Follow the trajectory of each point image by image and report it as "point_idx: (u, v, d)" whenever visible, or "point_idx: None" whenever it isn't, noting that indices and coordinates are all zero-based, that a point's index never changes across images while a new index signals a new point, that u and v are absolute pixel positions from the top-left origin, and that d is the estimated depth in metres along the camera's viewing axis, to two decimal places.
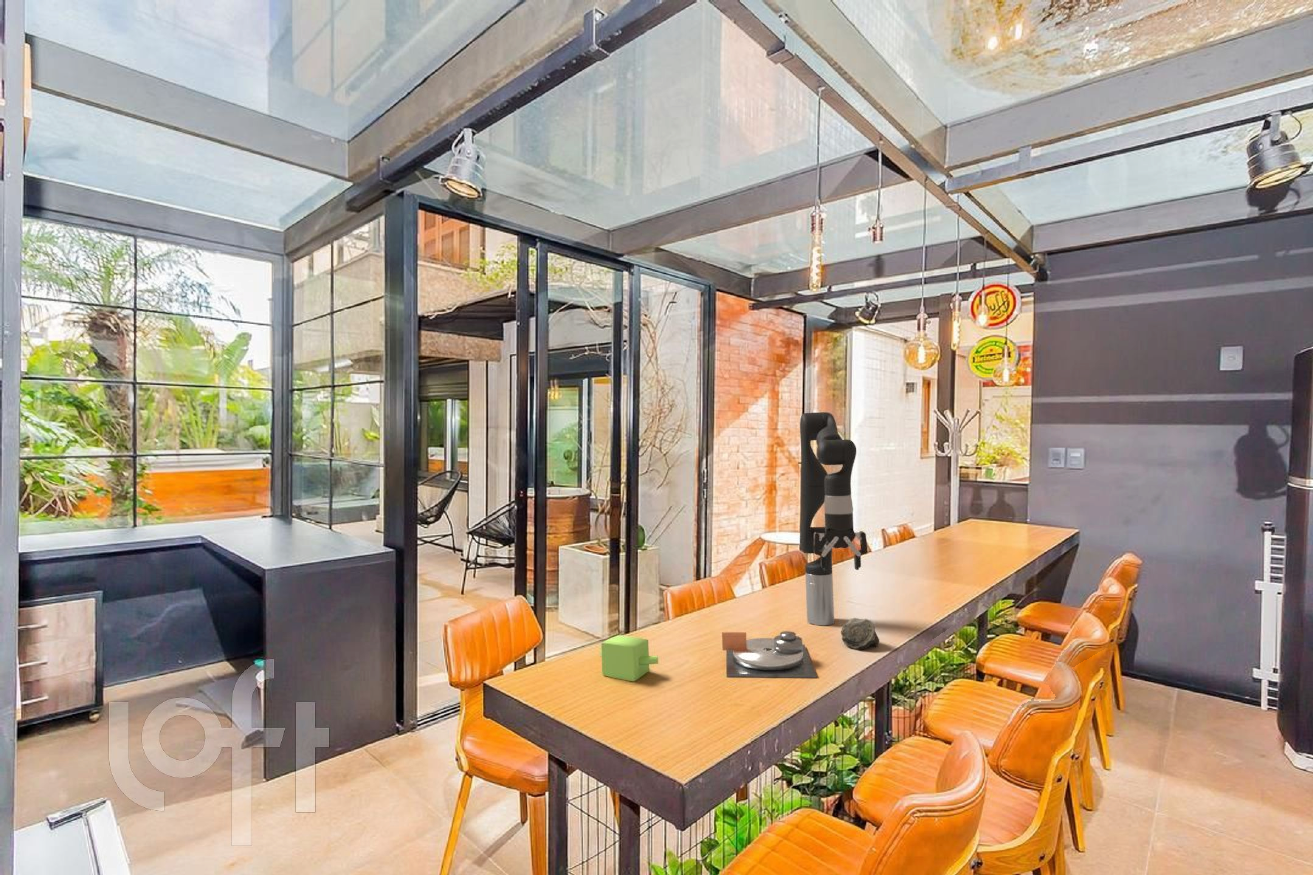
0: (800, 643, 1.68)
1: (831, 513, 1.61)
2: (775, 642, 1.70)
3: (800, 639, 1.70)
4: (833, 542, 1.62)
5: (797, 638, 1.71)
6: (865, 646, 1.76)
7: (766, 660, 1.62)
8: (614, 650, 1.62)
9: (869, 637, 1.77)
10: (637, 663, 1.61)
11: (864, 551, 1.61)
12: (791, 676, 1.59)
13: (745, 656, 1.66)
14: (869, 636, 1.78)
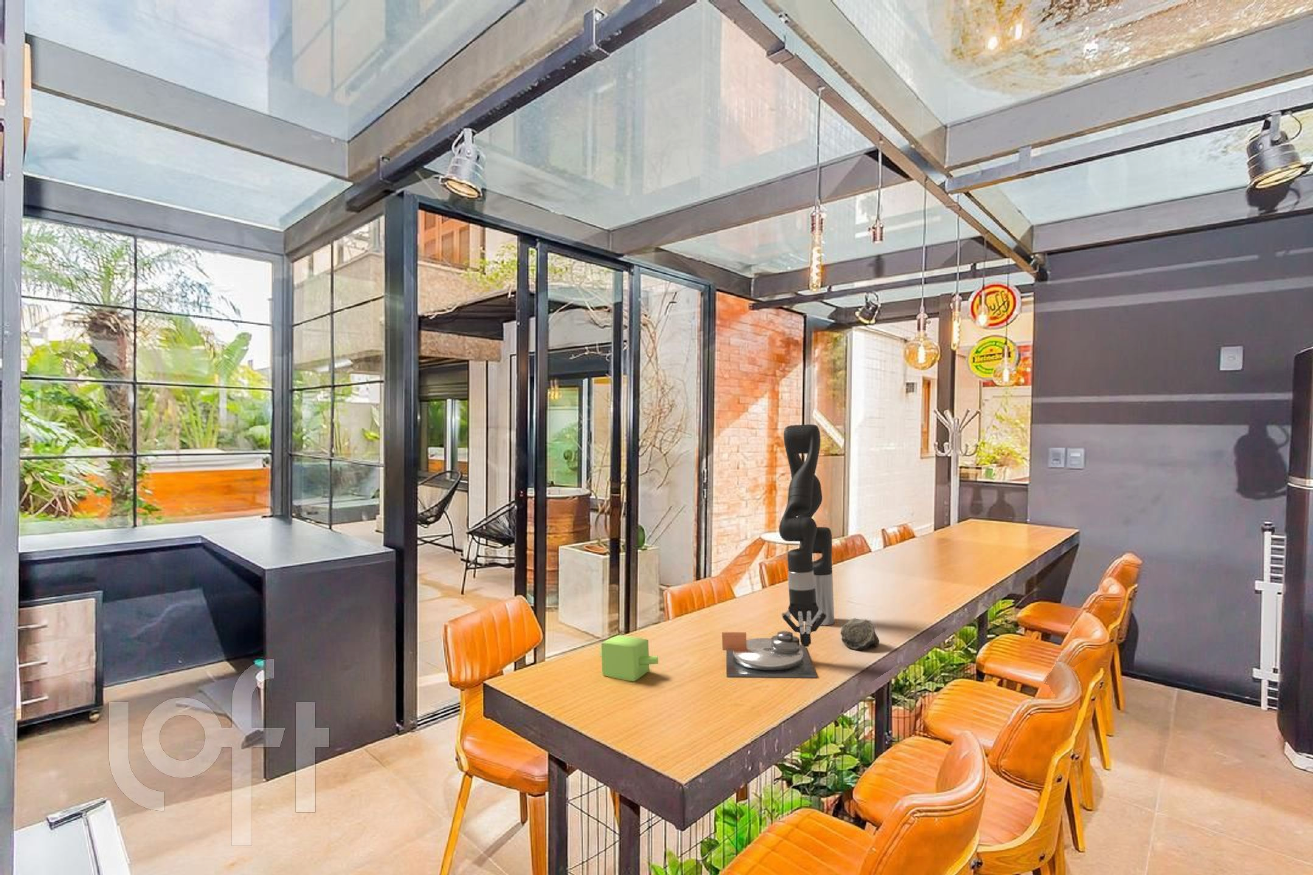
0: (797, 643, 1.68)
1: (795, 589, 1.68)
2: (772, 642, 1.70)
3: (797, 639, 1.70)
4: (800, 617, 1.68)
5: (794, 638, 1.71)
6: (864, 647, 1.76)
7: (766, 660, 1.62)
8: (614, 650, 1.62)
9: (869, 638, 1.77)
10: (637, 663, 1.61)
11: (813, 629, 1.68)
12: (791, 676, 1.59)
13: (745, 656, 1.66)
14: (868, 636, 1.77)
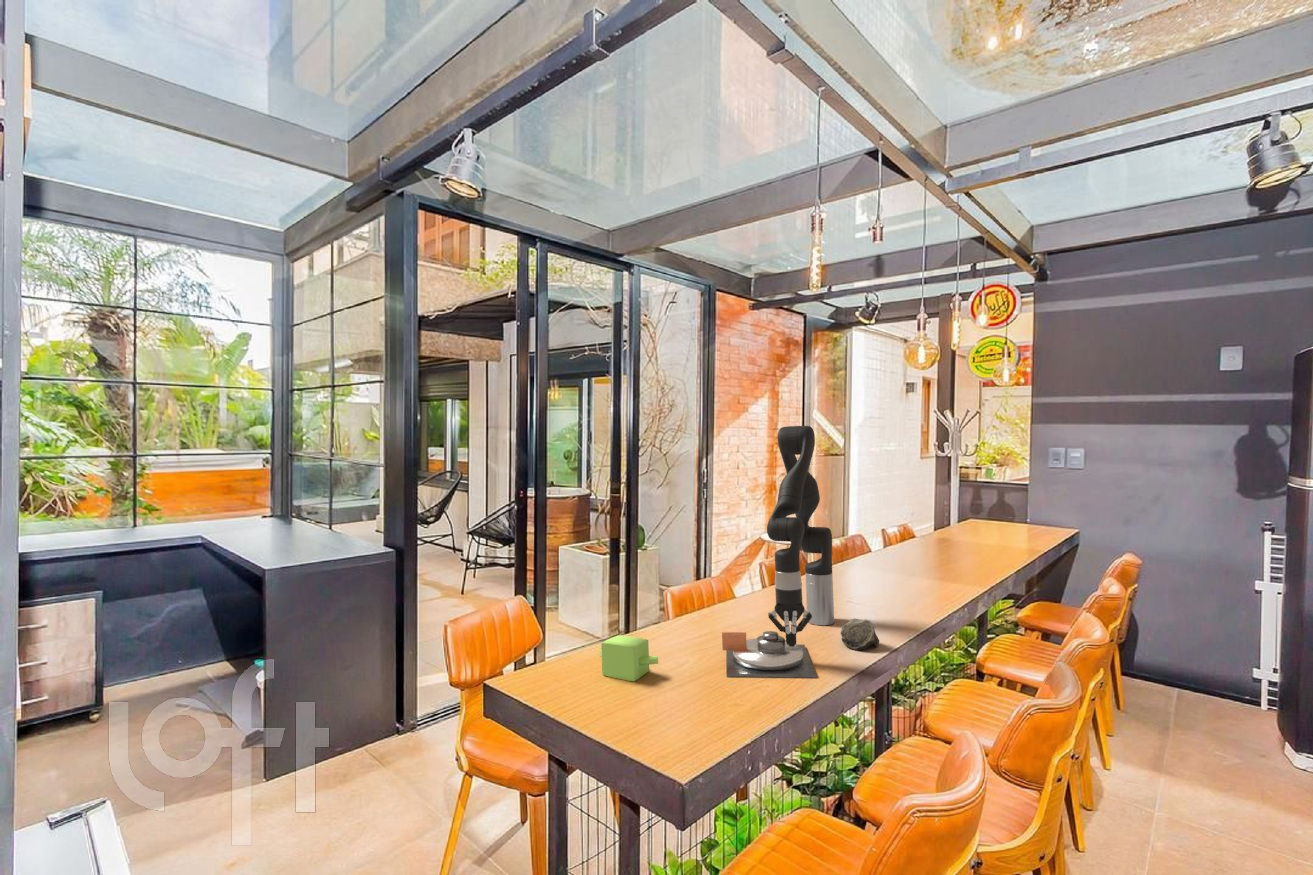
0: (782, 643, 1.68)
1: (781, 589, 1.68)
2: (758, 642, 1.70)
3: (783, 639, 1.70)
4: (786, 617, 1.69)
5: (780, 638, 1.71)
6: (864, 647, 1.76)
7: (766, 660, 1.62)
8: (614, 650, 1.62)
9: (868, 638, 1.77)
10: (637, 663, 1.61)
11: (799, 629, 1.69)
12: (791, 676, 1.59)
13: (745, 656, 1.66)
14: (868, 637, 1.77)
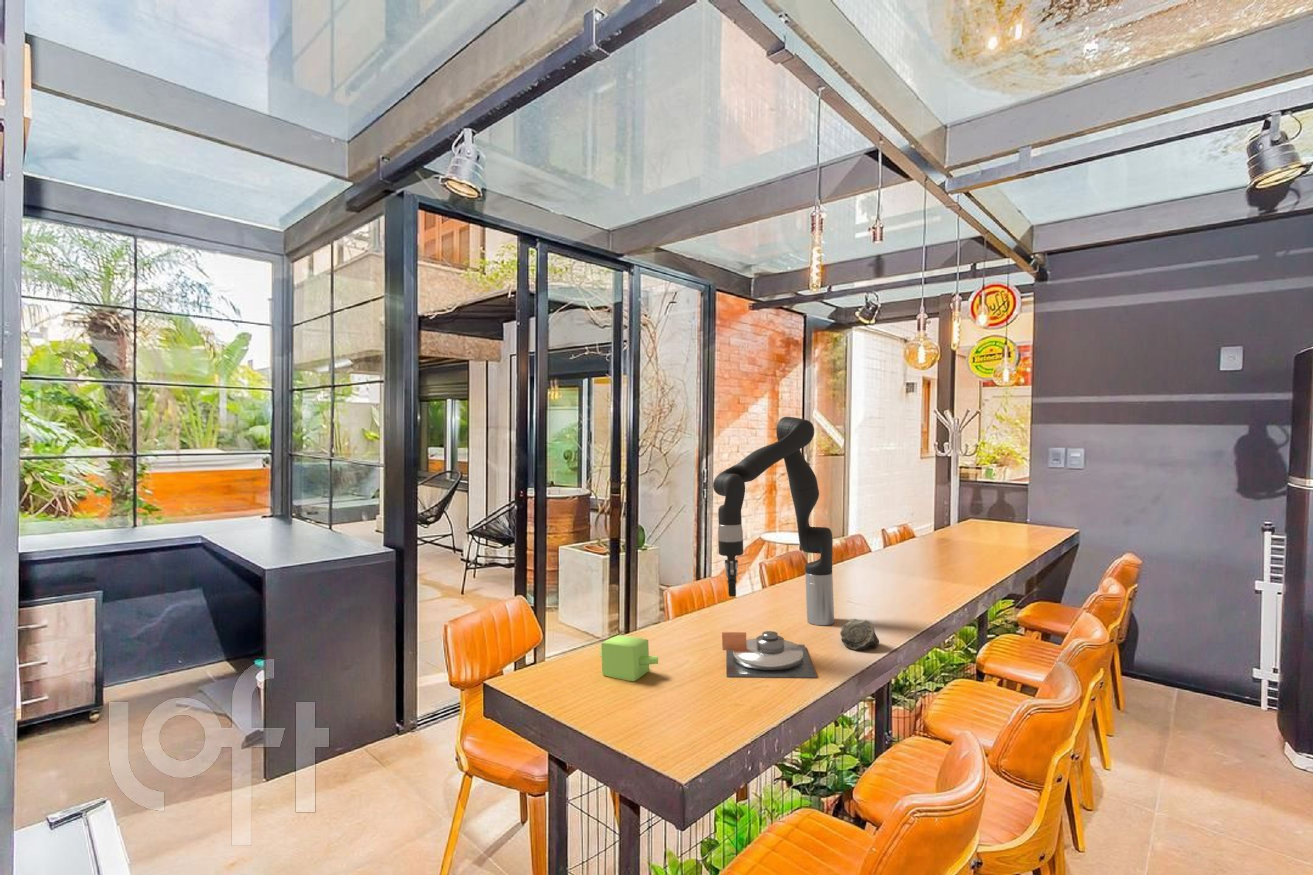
0: (782, 643, 1.68)
1: None
2: (757, 642, 1.70)
3: (782, 639, 1.70)
4: None
5: (779, 638, 1.71)
6: (864, 647, 1.76)
7: (766, 660, 1.62)
8: (614, 650, 1.62)
9: (868, 638, 1.77)
10: (637, 663, 1.61)
11: None
12: (791, 676, 1.59)
13: (745, 656, 1.66)
14: (868, 637, 1.77)
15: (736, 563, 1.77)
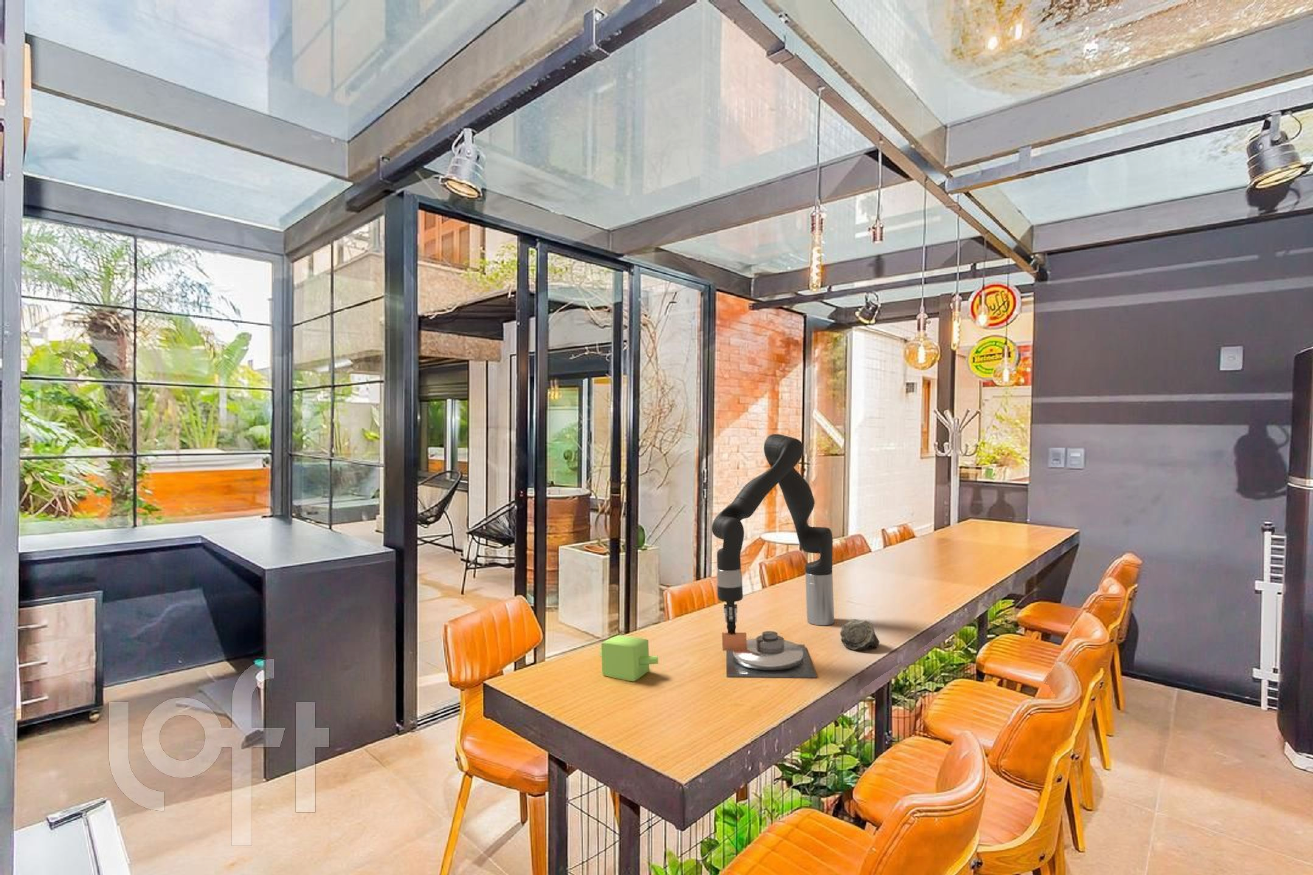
0: (782, 643, 1.68)
1: None
2: (757, 642, 1.70)
3: (782, 639, 1.71)
4: None
5: (779, 638, 1.71)
6: (864, 647, 1.75)
7: (767, 660, 1.62)
8: (614, 650, 1.62)
9: (868, 638, 1.76)
10: (637, 663, 1.61)
11: None
12: (791, 676, 1.59)
13: (746, 656, 1.66)
14: (868, 637, 1.77)
15: (735, 609, 1.74)
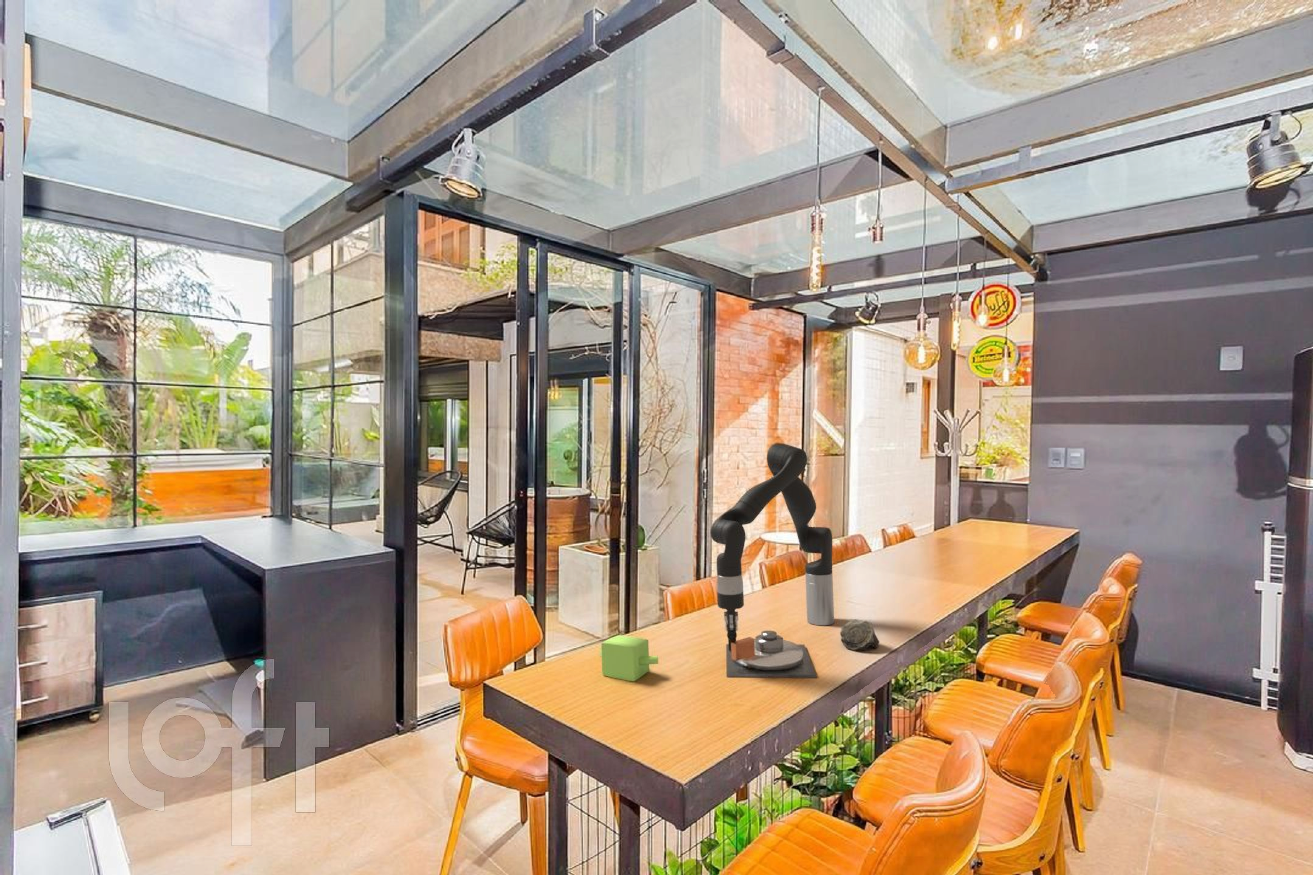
0: None
1: None
2: (763, 644, 1.69)
3: (778, 636, 1.73)
4: None
5: None
6: (863, 648, 1.75)
7: (788, 658, 1.63)
8: (614, 650, 1.62)
9: (868, 639, 1.76)
10: (637, 663, 1.61)
11: (727, 635, 1.66)
12: (791, 676, 1.59)
13: (765, 659, 1.63)
14: (867, 637, 1.76)
15: (736, 616, 1.66)
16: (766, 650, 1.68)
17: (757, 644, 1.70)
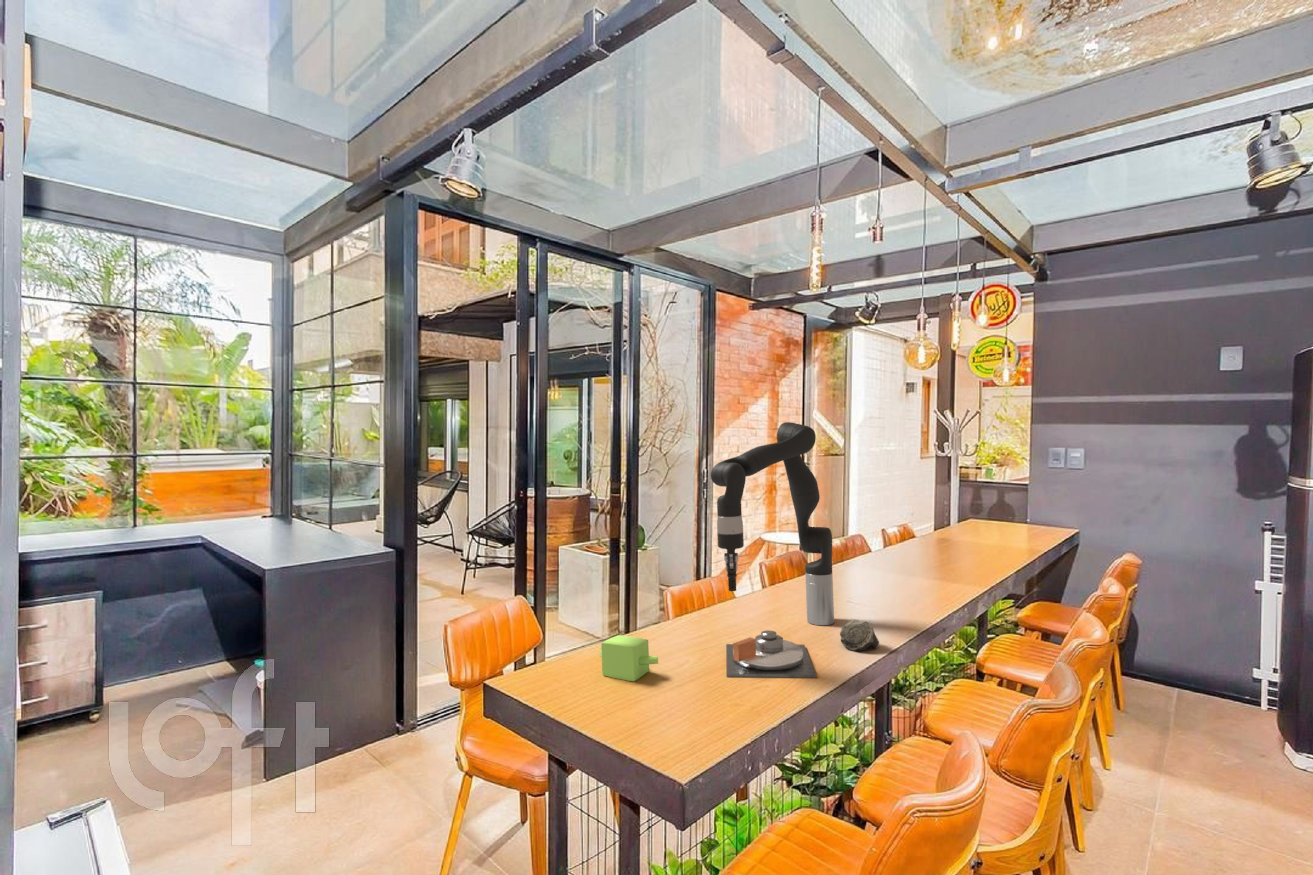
0: None
1: None
2: (763, 644, 1.68)
3: (777, 635, 1.74)
4: None
5: None
6: (863, 648, 1.75)
7: (789, 658, 1.64)
8: (614, 650, 1.62)
9: (867, 639, 1.76)
10: (637, 663, 1.61)
11: None
12: (791, 676, 1.59)
13: (767, 660, 1.63)
14: (867, 638, 1.76)
15: (736, 556, 1.69)
16: (767, 650, 1.68)
17: (757, 644, 1.70)
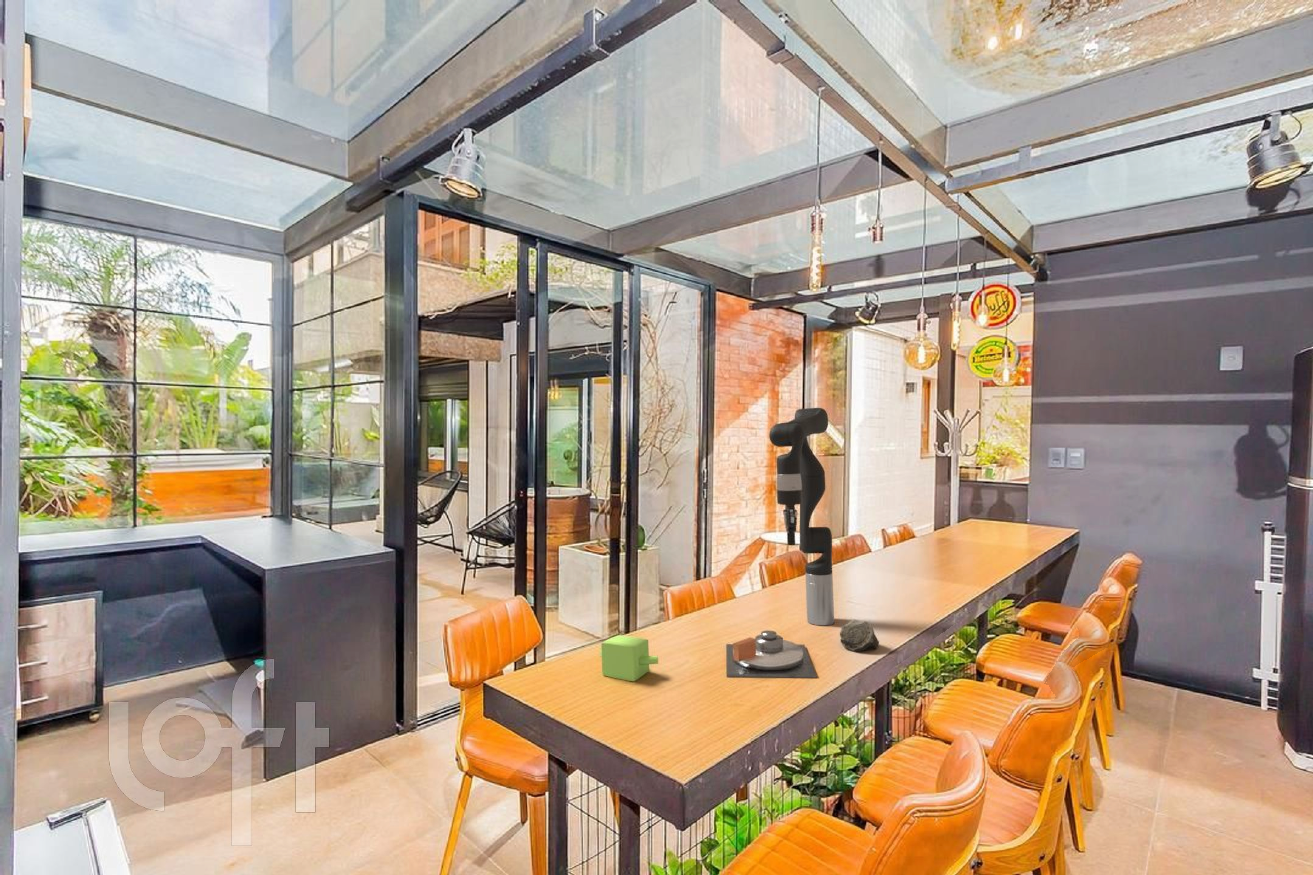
0: None
1: None
2: (763, 644, 1.68)
3: (777, 635, 1.74)
4: (784, 516, 1.82)
5: None
6: (862, 648, 1.75)
7: (789, 658, 1.64)
8: (614, 650, 1.62)
9: (867, 639, 1.76)
10: (637, 663, 1.61)
11: (787, 529, 1.78)
12: (791, 676, 1.59)
13: (767, 660, 1.63)
14: (867, 638, 1.76)
15: (795, 512, 1.79)
16: (767, 650, 1.68)
17: (757, 644, 1.70)
